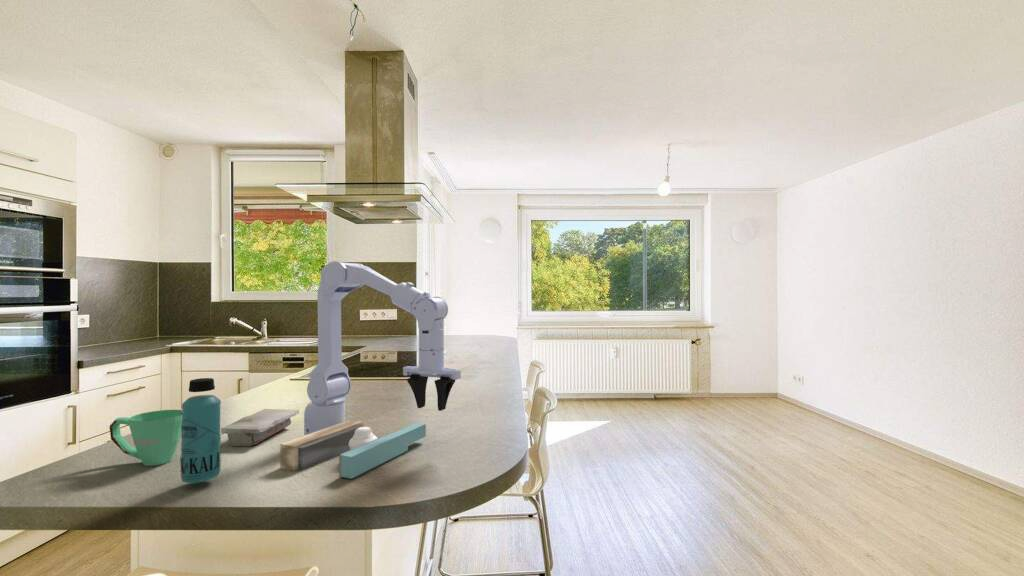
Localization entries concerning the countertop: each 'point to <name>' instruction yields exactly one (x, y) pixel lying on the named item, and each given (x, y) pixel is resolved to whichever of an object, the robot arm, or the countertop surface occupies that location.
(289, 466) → the wooden block
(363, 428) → the white ribbed dome
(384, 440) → the movable jaw
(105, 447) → the countertop surface
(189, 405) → the beverage bottle
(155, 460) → the mug
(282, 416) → the grey box
